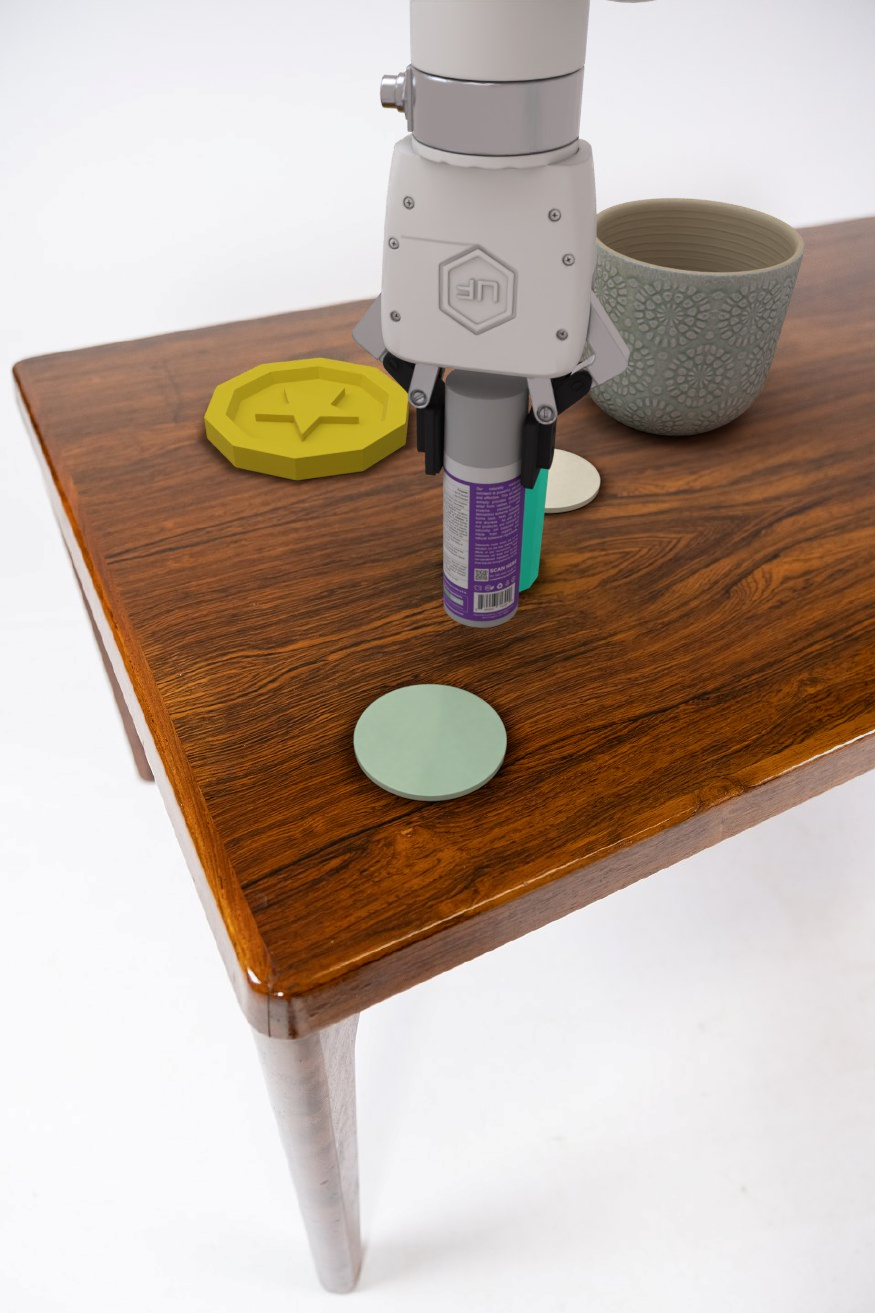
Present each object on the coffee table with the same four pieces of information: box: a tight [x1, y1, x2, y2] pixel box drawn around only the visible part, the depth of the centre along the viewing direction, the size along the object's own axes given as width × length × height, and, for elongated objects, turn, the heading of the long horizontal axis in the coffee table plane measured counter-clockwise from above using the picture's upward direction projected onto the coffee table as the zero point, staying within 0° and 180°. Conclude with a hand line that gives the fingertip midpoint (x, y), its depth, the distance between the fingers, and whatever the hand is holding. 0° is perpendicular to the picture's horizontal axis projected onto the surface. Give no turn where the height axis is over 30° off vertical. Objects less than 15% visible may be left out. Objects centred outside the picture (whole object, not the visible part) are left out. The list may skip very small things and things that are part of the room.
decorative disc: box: [203, 357, 410, 481], centre depth 87 cm, size 17×18×2 cm
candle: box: [519, 469, 549, 593], centre depth 68 cm, size 6×6×12 cm
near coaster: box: [353, 683, 508, 802], centre depth 60 cm, size 9×9×1 cm
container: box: [442, 369, 530, 629], centre depth 58 cm, size 5×5×15 cm
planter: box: [579, 197, 805, 437], centre depth 85 cm, size 17×17×15 cm
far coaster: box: [544, 448, 601, 514], centre depth 81 cm, size 9×9×1 cm
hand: (484, 466), depth 57 cm, fingers closed on container, 4 cm apart
